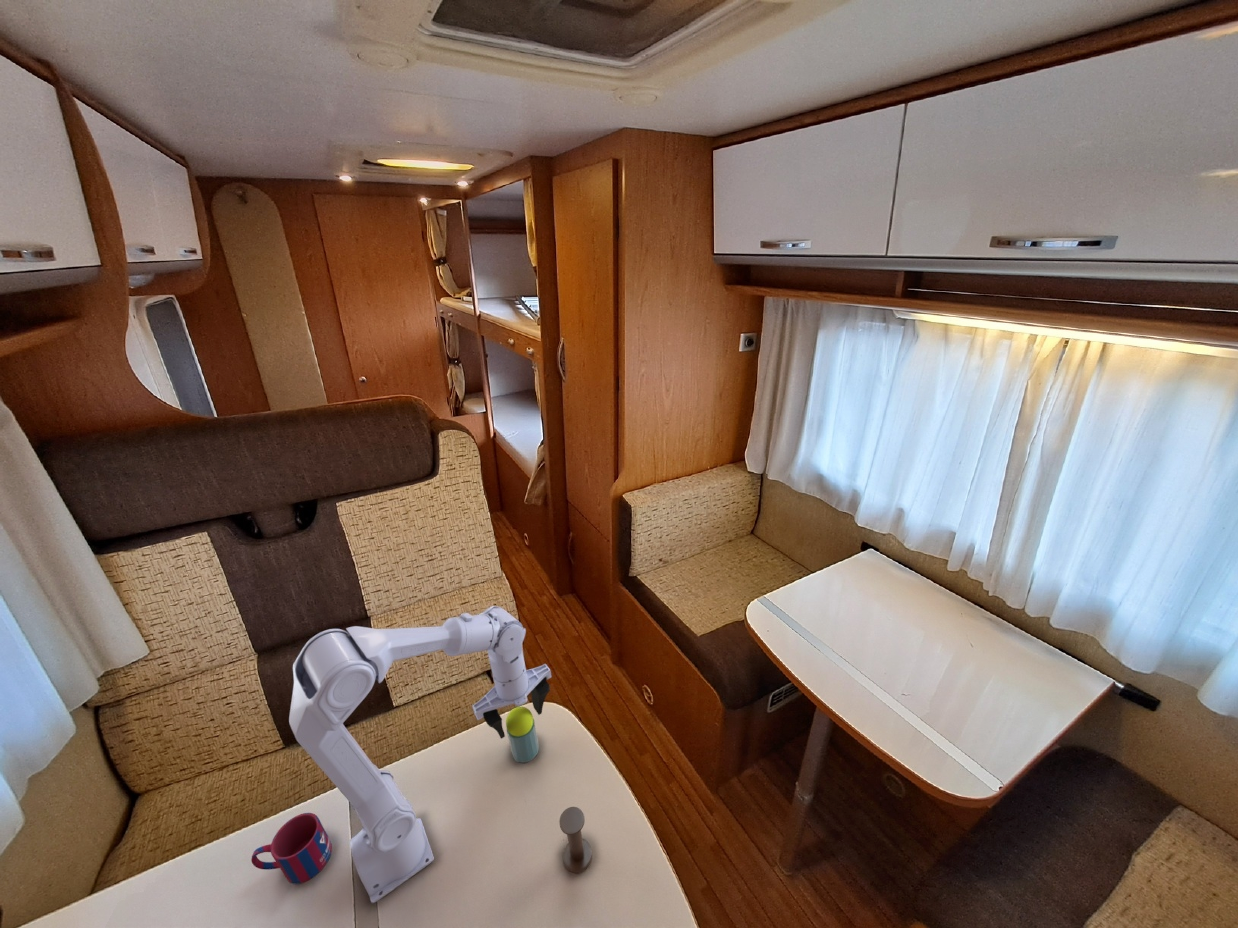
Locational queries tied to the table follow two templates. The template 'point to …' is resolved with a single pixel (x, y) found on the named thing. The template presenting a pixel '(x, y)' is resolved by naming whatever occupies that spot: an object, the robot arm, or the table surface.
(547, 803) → the table surface
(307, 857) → the cup
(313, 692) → the robot arm
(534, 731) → the tumbler
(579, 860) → the stand
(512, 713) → the ball
